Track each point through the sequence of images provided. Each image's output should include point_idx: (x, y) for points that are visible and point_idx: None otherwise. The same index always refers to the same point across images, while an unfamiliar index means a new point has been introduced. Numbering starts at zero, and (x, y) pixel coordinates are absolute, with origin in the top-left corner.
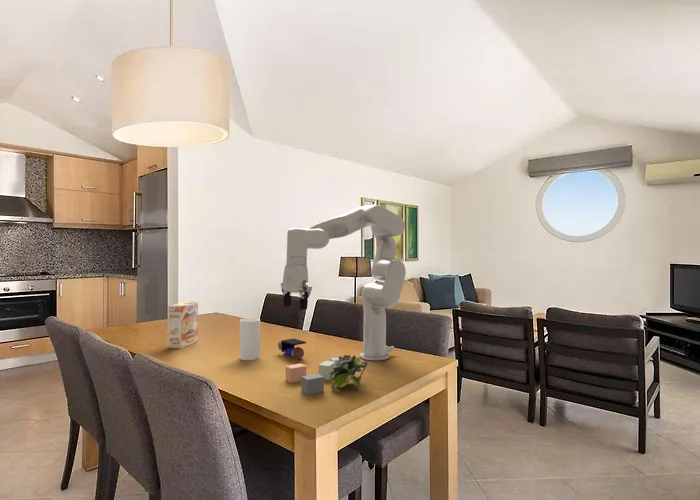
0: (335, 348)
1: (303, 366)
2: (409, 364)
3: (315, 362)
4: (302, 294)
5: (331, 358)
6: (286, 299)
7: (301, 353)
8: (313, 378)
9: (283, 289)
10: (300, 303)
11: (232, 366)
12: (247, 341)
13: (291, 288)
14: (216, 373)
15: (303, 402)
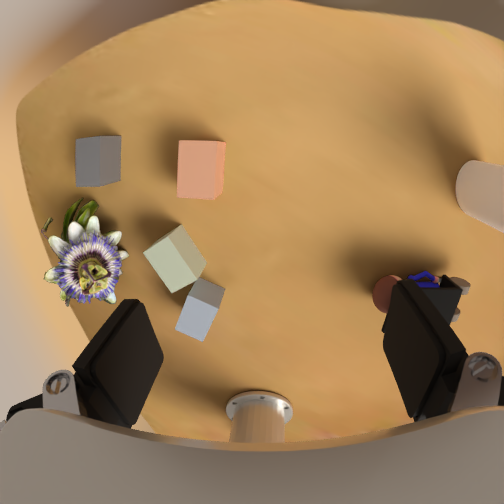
0: (377, 392)
1: (177, 187)
2: (178, 410)
3: (321, 304)
4: (46, 406)
5: (210, 306)
6: (418, 347)
7: (374, 297)
8: (76, 157)
9: (493, 418)
10: (100, 329)
11: (436, 100)
12: (496, 175)
13: (128, 502)
14: (398, 36)
15: (75, 116)
